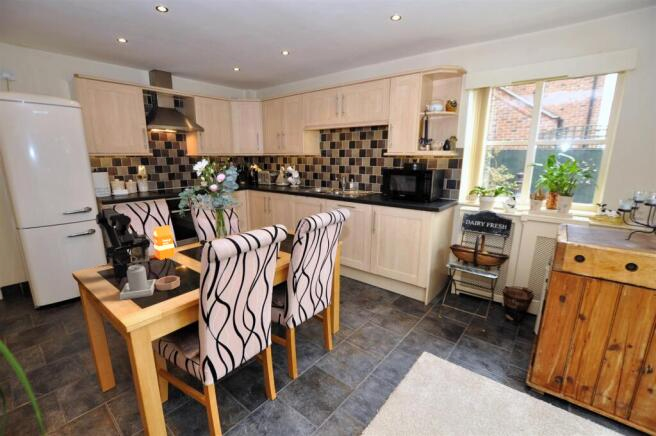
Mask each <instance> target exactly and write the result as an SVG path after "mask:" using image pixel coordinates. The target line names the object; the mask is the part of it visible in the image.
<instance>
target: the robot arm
mask: <svg viewBox="0 0 656 436" xmlns="http://www.w3.org/2000/svg"><path fill="white" fill-rule="evenodd" d="M95 222H96V225H98V228H99V229H101V230H102V231H104V233H105V236H106V238H107V241H108V243H109V246H107V247H105V248H104V256H105V258H107V259H109V265H110V266H111V267H112V268H113V273H114V276H113V278H114V279H117V278H124V277H127V270H128V267H130V266H131V265H129V264H131V263H132V258H131V252H128V250H130V249H132V248H137V247H140V249H141V250H140V251H141V254H142V257H143V259H144V260H145V250H147V248H148V249H149V248H150V246H151V241H150V238H147V239H143V240H140V243H137V244H134V243H135V241H134V240H135V238H138V235H139V234H138V232H137V231H136V230H134V231H132V232H131V233H130V230H129V229H130V226H131V223H132V218H131V217H130V216H128V215H125V213H124V212H123V213H117V212H116V211H115V210H114V209H113V208H112V207H108V208H102V209H100V211H99V212H98V213H97V214H96V216H95Z"/></svg>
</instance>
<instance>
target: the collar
mask: <svg viewBox="0 0 656 436" xmlns="http://www.w3.org/2000/svg"><path fill="white" fill-rule="evenodd" d="M180 279H181V278H180V276H177V275H168V276H162V277H160V278H159V279H156V282H155V286H156V287H155V290H158V291H169V290H174V289H175V288H178V287H180V285H181V284H180V283H181V280H180Z"/></svg>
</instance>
